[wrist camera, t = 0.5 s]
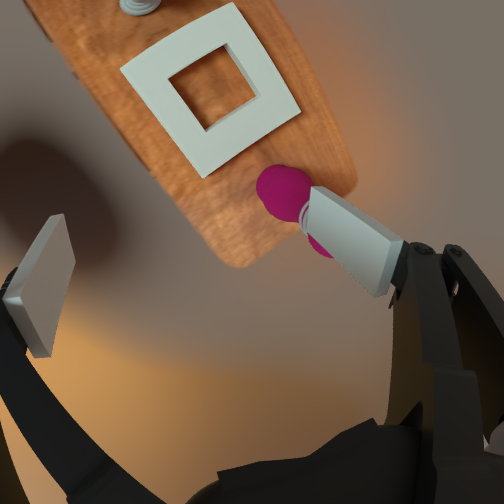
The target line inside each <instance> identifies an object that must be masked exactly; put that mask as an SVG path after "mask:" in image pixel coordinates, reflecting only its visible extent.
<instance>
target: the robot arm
mask: <svg viewBox="0 0 504 504" xmlns="http://www.w3.org/2000/svg"><path fill="white" fill-rule="evenodd" d="M306 232H308V233H309V234H310V235H311V236H312V237H313V238H314V239H315V240H316V241H317V242H318V243H319V244H320V245H321V246H322V247H323V248H324V249H325V250H326V251H327V252H328V253H330V254H331V255H332V256H333V257H334V258H335V259H336V260H337V261H338V262H339V263H340V264H341V265H342V266H343V267H344V268H345V269H346V270H347V271H348V272H349V273H350V274H351V275H352V276H353V277H354V278H355V279H356V280H357V281H358V282H359V283H360V284H361V285H362V286H363V287H364V288H365V289H366V290H367V291H368V292H369V293H370V294H371V295H372V296H373V297H374V298H376V297H380V296H383V295H386V294H387V292H388V289H389V286H390V283H392V284H393V285H394V286H395V287H396V288H395V291H394V294H393V296H392V299H391V302H390V304H389V308H391V306H392V305H393V351H392V370H391V382H390V394H389V404H388V412H387V417H386V420H385V423H384V425H377V423H376V422H375V420H374V419H373V418H371V419H369V420H367V421H365V422H363V423H361V424H358V425H356V426H354V427H352V428H350V429H348V430H345V431H343V432H341V433H339V434H338V435H337V436H335V437H334V438H333V439H331V440H330V441H329V442H327V443H326V444H325V445H323V446H322V447H321V448H319V449H318V450H316V451H315V452H313V453H312V454H311V455H309V456H307V457H302V458H294V459H284V460H272V461H259V462H255V463H252V464H248V465H244V466H240V467H236V468H232V469H228V470H223V471H218V472H217V475H218V479H219V480H217V481H215V482H213V483H211V484H209V485H207V486H206V487H204V488H203V489H201V490H200V491H198V492H197V493H196V494H195V495H193V496H192V497H191V498H190V499H189V500H188V501H187V503H186V504H504V301H503V300H502V298H501V297H500V296H499V294H498V293H497V291H496V290H495V288H494V287H493V286H492V284H491V283H490V281H489V280H488V279H487V277H486V276H485V275H484V273H483V272H482V271H481V270H480V268H479V267H478V266H477V264H476V263H475V262H474V261H473V259H472V258H471V257H470V256H469V254H468V253H467V252H466V251H465V250H463V249H462V248H461V247H460V246H457V245H452V244H447V245H445V248H444V251H443V254H436V253H435V251H434V250H433V249H432V248H431V247H429V246H428V245H426V244H423V243H418V242H412V243H410V244H409V243H407V242H406V241H405V240H403V239H402V238H401V237H399V236H397V235H396V234H395V233H393V232H392V231H391V230H389V229H388V228H386V227H385V226H383V225H382V224H381V223H379V222H377V221H376V220H375V219H373V218H372V217H370V216H369V215H367V214H366V213H364V212H363V211H361V210H360V209H358V208H357V207H355V206H354V205H352V204H350V203H349V202H347V201H346V200H344V199H343V198H341V197H340V196H338V195H336V194H335V193H333V192H332V191H330V190H328V189H327V188H325V187H323V186H313V187H311V193H310V202H309V211H308V219H307V227H306ZM75 262H76V261H75V258H74V255H73V251H72V247H71V243H70V240H69V235H68V231H67V227H66V223H65V218H64V214H59V215H54V216H50V217H49V219H48V220H47V222H46V223H45V225H44V227H43V228H42V229H41V231H40V232H39V234H38V236H37V237H36V239H35V241H34V242H33V244H32V245H31V247H30V249H29V250H28V252H27V254H26V255H25V257H24V259H23V260H22V262H21V264H20V266H19V267H16V268H14V269H13V270H12V271H11V272H10V274H8V276H7V278H6V280H5V282H4V284H3V285H2V287H1V290H0V395H1V397H2V399H3V401H4V403H5V405H6V407H7V409H8V410H9V412H10V414H11V416H12V418H13V419H14V421H15V423H16V424H17V426H18V428H19V429H20V431H21V433H22V434H23V436H24V437H25V439H26V441H27V442H28V444H29V445H30V447H31V448H32V450H33V451H34V452H35V454H36V455H37V457H38V458H39V460H40V461H41V462H42V464H43V465H44V467H45V468H46V469H47V471H48V472H49V473H50V474H51V476H52V477H53V478H54V480H55V481H56V482H57V483H58V484H59V486H60V487H61V488H62V489H63V491H64V492H65V493H66V495H67V498H66V500H67V502H68V504H166V503H165V502H164V501H162V500H161V499H160V498H158V497H157V496H156V495H154V494H153V493H151V492H150V491H149V490H148V489H147V488H145V487H144V486H143V485H141V484H140V483H139V482H138V481H137V480H135V479H134V478H133V477H132V476H131V475H130V474H128V473H127V472H126V471H125V470H124V469H123V468H122V467H120V466H119V465H118V464H117V463H116V462H115V461H114V460H113V459H112V458H110V457H109V456H108V455H107V454H106V453H105V452H104V451H103V450H102V449H101V448H100V447H99V446H98V445H97V444H96V443H95V442H94V441H93V440H92V439H91V438H90V437H89V436H88V434H87V433H86V432H85V431H84V430H83V429H82V428H81V427H80V426H79V425H78V423H77V422H76V421H75V420H74V419H73V418H72V417H71V416H70V414H69V413H68V412H67V411H66V409H65V408H64V407H63V406H62V405H61V403H60V402H59V401H58V400H57V398H56V397H55V396H54V394H53V393H52V392H51V391H50V389H49V388H48V387H47V385H46V384H45V383H44V381H43V380H42V379H41V377H40V376H39V374H38V373H37V371H36V370H35V368H34V367H33V365H32V364H31V362H30V361H29V359H28V358H27V356H26V351H27V348H28V349H29V350H30V352H31V353H32V355H33V357H34V358H45V357H51V354H52V349H53V344H54V339H55V334H56V330H57V326H58V321H59V317H60V313H61V309H62V306H63V302H64V298H65V295H66V291H67V288H68V284H69V281H70V278H71V275H72V271H73V268H74V265H75ZM457 284H458V285H459V287H458V292H457V294H456V295H455V293H454V291H455V288H456V286H457ZM483 434H484V436H485V439H486V440H487V442H488V444H489V445H488V446H487V447H486V448H485V449H484V441H483V440H484V439H483ZM0 504H30V503H29V501H28V498H27V496H26V494H25V492H24V490H23V487H22V485H21V483H20V480H19V477H18V475H17V472H16V470H15V467H14V465H13V461H12V459H11V456H10V453H9V450H8V446H7V443H6V440H5V437H4V433H3V430H2V426H1V422H0Z"/></svg>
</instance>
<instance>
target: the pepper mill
mask: <svg viewBox="0 0 504 504" xmlns="http://www.w3.org/2000/svg"><path fill="white" fill-rule="evenodd" d="M313 186H315V185H314V183H313V182H312V180H311V179H310V177H309V176H308V175H307V174H305V173H304V172H302V171H301V170H299V169H296V168H288V167H286V166H283V165H273V166H270V167H268V168H267V169H265V170H264V171H263V172H262V173H261V174H260V176H259V178H258V180H257V185H256V190H257V194H258V196H259V198H260V199H261V200H262V201H263V203H264V205H265V208H266V209H267V211H268V212H269V213H270V214H272V215H273V216H274V217H276V218H278V219H280V220H283V221H286V222H297V223H299V226H300V228H301V230H302V231H303V233H304V234H306V235H307V236H308V239H309V242H310V244H311V245H312V247H313V248H314V249H315V250H316V251H317V252H318V253H320V254H322V255H323V256H326V257H329V258H334V257H333V256H332V255H331V254H330V253H328V252H327V251H326V250H325V249H324V248H323V247H322V246H321V245H320V244H319V243H318V242H317V241H316V240H315V239H314V238H313V237H312V236H311V235H310V234H309V233H308V232H306V227H307V219H308V211H309V202H310V193H311V187H313Z"/></svg>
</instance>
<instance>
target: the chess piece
mask: <svg viewBox="0 0 504 504" xmlns="http://www.w3.org/2000/svg"><path fill="white" fill-rule="evenodd" d="M160 2H161V0H120V6H121V8H122V10H123V11H124V12H126V13H127V14H130V15H134V16H140V15H145V14H148V13H150V12H151V11H153V10H154V9H156V8H157V7H158V5H159V4H160Z"/></svg>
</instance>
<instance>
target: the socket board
mask: <svg viewBox="0 0 504 504" xmlns="http://www.w3.org/2000/svg"><path fill="white" fill-rule="evenodd" d="M221 46H224V47H225V49H226V50H227V52H228V53H229V55H230V56H231V58H232V59H233V61H234V62H235V64H236V65H237V67H238V68H239V70H240V71H241V73H242V74H243V76H244V77H245V79H246V80H247V82H248V84H249V85H250V87H251V88H252V90H253V91H254V93H255V95H256V97H254V98H253V99H251V100H249V101H248V102H246V103H244V104H243V105H241V106H240V107H238V108H237V109H235V110H233V111H232V112H230V113H229V114H227V115H226V116H224V117H223V118H221V119H220V120H218V121H217V122H215V123H214V124H212V125H211V126H210V127H208V128H207V129H205V130H204V129H203V127H202V126H201V125H200V123H199V122H198V120H197V119H196V118H195V116H194V115H193V113H192V112H191V111H190V109H189V108H188V106H187V105H186V104H185V102H184V101H183V100H182V98H181V97H180V95H179V94H178V93H177V91H176V90H175V89H174V87H173V86H172V84H171V83H170V82H169V80H168V79H169V78H170V77H172V76H173V75H175V74H176V73H178V72H179V71H181V70H182V69H184V68H185V67H187V66H189V65H190V64H192V63H193V62H195V61H197V60H198V59H200V58H202V57H203V56H205V55H207V54H208V53H210V52H212V51H214V50H215V49H217V48H219V47H221ZM120 70H121V72H122V73H123V74H124V76H125V77H126V78H127V80H128V81H129V82H130V84H131V85H132V86H133V88H134V89H135V90H136V91H137V93H138V94H139V95H140V97H141V98H142V99H143V101H144V102H145V103H146V105H147V106H148V107H149V109H150V110H151V111H152V112H153V114H154V115H155V116H156V118H157V119H158V120H159V122H160V123H161V124H162V126H163V127H164V128H165V130H166V131H167V132H168V134H169V135H170V136H171V138H172V139H173V140H174V141H175V143H176V144H177V145H178V147H179V148H180V149H181V151H182V152H183V153H184V155H185V156H186V157H187V159H188V160H189V161H190V163H191V164H192V165H193V167H194V168H195V169H196V171H197V172H198V173H199V175H200V176H201V177H202V179H203V178H205V177H206V176H207V175H209V174H210V173H211V172H213V171H214V170H216V169H217V168H218V167H220V166H221V165H222V164H224V163H225V162H227V161H228V160H230V159H231V158H232V157H234V156H235V155H237V154H238V153H239V152H241V151H242V150H244V149H245V148H247V147H248V146H250V145H251V144H253V143H254V142H256V141H257V140H259V139H260V138H262V137H263V136H265V135H266V134H268V133H269V132H271V131H272V130H274V129H275V128H277V127H278V126H280V125H281V124H283V123H285V122H286V121H288V120H289V119H291V118H293V117H294V116H296V115H297V114H299V113H301V111H300V109H299V107H298V105H297V103H296V102H295V100H294V98H293V96H292V94H291V93H290V91H289V89H288V87H287V86H286V84H285V82H284V80H283V79H282V77H281V75H280V74H279V72H278V70H277V69H276V67H275V65H274V64H273V62H272V60H271V59H270V57H269V55H268V54H267V52H266V51H265V49H264V47H263V46H262V44H261V43H260V41H259V40H258V38H257V37H256V35H255V34H254V32H253V31H252V29H251V28H250V26H249V25H248V23H247V22H246V20H245V19H244V17H243V16H242V14H241V13H240V12H239V10H238V9H237V7H236V6H235V5H234V3H233V2H231V3H229V4H227V5H225V6H223V7H220V8H218V9H216V10H214V11H212V12H210V13H208V14H206V15H204V16H202V17H200V18H198V19H197V20H195V21H193V22H191V23H189V24H187V25H186V26H184V27H182V28H180V29H179V30H177V31H175V32H174V33H172V34H170V35H169V36H167V37H165V38H164V39H162V40H160V41H159V42H157V43H156V44H154V45H153V46H151V47H150V48H148V49H147V50H145V51H144V52H142V53H141V54H139V55H138V56H136V57H135V58H134V59H132V60H131V61H129V62H128V63H127V64H125V65H124V66H123V67H121V68H120Z"/></svg>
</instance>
